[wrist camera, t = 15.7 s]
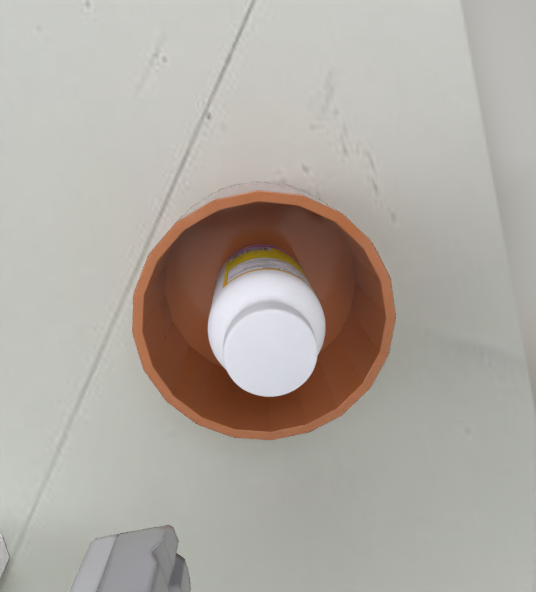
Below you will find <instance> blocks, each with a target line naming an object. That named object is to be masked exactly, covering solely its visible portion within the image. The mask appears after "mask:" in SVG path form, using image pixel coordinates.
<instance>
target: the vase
mask: <svg viewBox="0 0 536 592" xmlns="http://www.w3.org/2000/svg"><path fill="white" fill-rule="evenodd" d="M8 559H9V555H8V552H7V549H6V546H5V543H4V540H3V536H2V535H1V534H0V578H1V576H2V573H3V571H4V569H5V566H6V564H7V562H8Z"/></svg>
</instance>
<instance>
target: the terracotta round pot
mask: <svg viewBox="0 0 536 592" xmlns="http://www.w3.org/2000/svg"><path fill="white" fill-rule="evenodd" d="M252 245H270V246H274V247H277V248H280V249H282V250H284V251H286V252H287V253H288V254H290V255H291V256H292V257H293V258H294V259H295V260H296V261H297V262H298V264H299V265H300V267H301V268H302V270H303V272H304V274H305V276H306V278H307V280H308V281H309V283H310V285H311V287H312V289H313V291H314V293H315V294H316V296H317V298H318V300H319V302H320V304H321V306H322V309H323V313H324V317H325V337H324V342H323V345H322V348H321V350H320V352H319V354H318V355H317V362H316V365H315V368H314V370H313V372H312V374H311V375H310V377H309V378H308V379H307V380H306V381H305V382H304V383H303V384H302V385H301V386H300V387H299V388H297V389H295V390H294V391H292V392H290V393H287V394H284V395H281V396H274V397H265V396H259V395H255V394H252V393H249V392H247V391H245V390H243V389H242V388H240V387H239V386H238V385H237V384H236V383H235V382H234V381H233V380H232V379H231V377H230V376H229V374H228V372H227V370H226V369H225V368H224V367H223V366H222V365H221V364H220V362H219V361H218V360H217V358H216V357H215V355H214V353H213V351H212V348H211V346H210V342H209V337H208V319H209V314H210V310H211V305H212V300H213V295H214V289H215V285H216V281H217V277H218V274H219V271H220V269H221V267H222V266H223V264H224V263H225V262H226V260H227V259H228V258H229V257H230V256H232V255H233V254H234V253H236V252H237V251H239V250H241V249H243V248H245V247H248V246H252ZM395 319H396V313H395V306H394V299H393V292H392V285H391V279H390V276H389V274H388V272H387V270H386V268H385V266H384V264H383V262H382V260H381V258H380V256H379V254H378V252H377V250H376V248H375V246H374V245H373V243H372V242H371V240H370V239H369V238H368V237H366V236H365V235H364V234H363V233H362V232H361V231H360V230H359V229H358V228H357V227H356V226H355V225H354V224H353V223H352V222H351V221H350V220H349V219H348V218H347V217H345V216H344V215H343V214H342V213H341V212H339V211H338V210H336V209H334V208H333V207H331V206H329V205H328V204H326V203H325V202H323V201H321V200H320V199H318V198H316V197H313V196H311V195H309V194H307V193H305V192H303V191H300V190H298V189H296V188H294V187H292V186H289V185H282V184H275V183H267V182H251V183H246V184H239V185H235V186H232V187H228V188H223V189H220V190H219V191H217V192H215V193H213V194H211V195H210V196H208V197H207V198H205V199H203V200H202V201H200V202H199V203H197V204H195V205H194V206H192V207H191V208H190V209H189V210H188V211H187V212H186V213H185V214H184V215H183V216H182V217H181V218H180V219H179V220H178V221H177V222H176V223H175V224H174V225H173V226H172V228H171V229H170V230H169V231H168V232H167V233H166V235H165V236H164V237H163V238H162V239H161V241H160V242H159V243H158V244H157V245H156V246H155V248H154V249H153V250H152V251H151V252H150V253H149V255H148V257H147V260H146V262H145V265H144V267H143V270H142V273H141V275H140V278H139V280H138V283H137V286H136V288H135V291H134V294H133V326H132V332H133V337H134V340H135V344H136V347H137V350H138V353H139V356H140V360H141V363H142V366H143V369H144V371H145V372H146V374H147V375H148V377H149V378H150V379H151V381H152V382H153V383H154V385H155V386H156V388H157V389H158V390H159V392H160V393H161V395H162V396H163V397H164V399H165V400H166V401H167V402H168V403H169V404H171V405H172V406H173V407H175V408H176V409H177V410H179V411H180V412H181V413H183V414H184V415H185V416H187V417H188V418H189V419H191V420H192V421H193V422H195V423H196V424H198V425H200V426H203V427H206V428H209V429H211V430H214V431H217V432H220V433H222V434H225V435H228V436H231V437H234V438H247V439H261V440H271V439H272V440H274V439H279V438H284V437H288V436H293V435H298V434H303V433H308V432H311V431H313V430H314V429H316V428H318V427H320V426H322V425H324V424H326V423H328V422H330V421H332V420H334V419H335V418H337V417H339V416H341V415H343V414H344V413H345V412H346V411H347V410H348V409H349V408H350V407H351V406H352V405H353V404H354V403H355V402H356V401H357V400H358V399H359V398H360V397H361V396H362V395H363V394H365V393H366V392H367V391H368V390H369V389H370V387H371V386H372V384H373V382H374V380H375V378H376V377H377V375H378V373H379V371H380V369H381V368H382V366H383V364H384V362H385V360H386V358H387V357H388V354H389V350H390V345H391V340H392V335H393V329H394V324H395Z"/></svg>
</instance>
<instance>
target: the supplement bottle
mask: <svg viewBox="0 0 536 592" xmlns="http://www.w3.org/2000/svg"><path fill="white" fill-rule="evenodd" d="M208 337H209V342H210V346H211V348H212V351H213V353H214V355H215V357H216V358H217V360H218V361H219V362H220V364H221V365H222V366H223V367H224V368H225V369H226V370H227V372H228V374H229V376H230V377H231V379H232V380H233V381H234V382H235V383H236V384H237V385H238V386H239V387H240V388H242V389H243V390H245V391H247V392H249V393H252V394H255V395H259V396H265V397H274V396H281V395H284V394H287V393H290V392H292V391H294V390H295V389H297V388H299V387H300V386H301V385H302V384H303V383H304V382H305V381H306V380H307V379H308V378H309V377H310V375H311V374H312V372H313V370H314V368H315V365H316V362H317V355H318V354H319V352H320V350H321V348H322V345H323V342H324V337H325V317H324V313H323V309H322V306H321V304H320V302H319V300H318V298H317V296H316V294H315V293H314V291H313V289H312V287H311V285H310V283H309V281H308V280H307V278H306V276H305V274H304V272H303V270H302V268H301V267H300V265H299V264H298V262H297V261H296V260H295V259H294V258H293V257H292V256H291V255H290V254H288V253H287V252H286V251H284V250H282V249H280V248H277V247H274V246H270V245H252V246H248V247H245V248H243V249H241V250H239V251H237V252H236V253H234V254H233V255H232V256H230V257H229V258H228V259H227V260H226V262H225V263H224V264H223V266H222V267H221V269H220V271H219V274H218V277H217V281H216V285H215V289H214V295H213V300H212V305H211V310H210V314H209V319H208Z"/></svg>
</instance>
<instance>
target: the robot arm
mask: <svg viewBox="0 0 536 592" xmlns="http://www.w3.org/2000/svg"><path fill="white" fill-rule="evenodd" d="M178 542H179V540H178V538H177V535H176V532H175V530H174V527H172V526H170V525H166V526H160V527H154V528H149V529H143V530H137V531H131V532H125V533H121V534H116V535H111V536H105V537H99V538H95V539H94V540H93V541H92V542H91V543H90V545H89V547H88V549H87V552H86V554H85V556H84V559H83V561H82V564H81V566H80V568H79V571H78V573H77V576H76V578H75V580H74V583H73V585H72V587H71V590H70V592H191V587H190V577H189V572H188V567H187V564H186V561H185V559H184V558H183V557H181V556H180V555H179V554H177V547H178Z"/></svg>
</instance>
